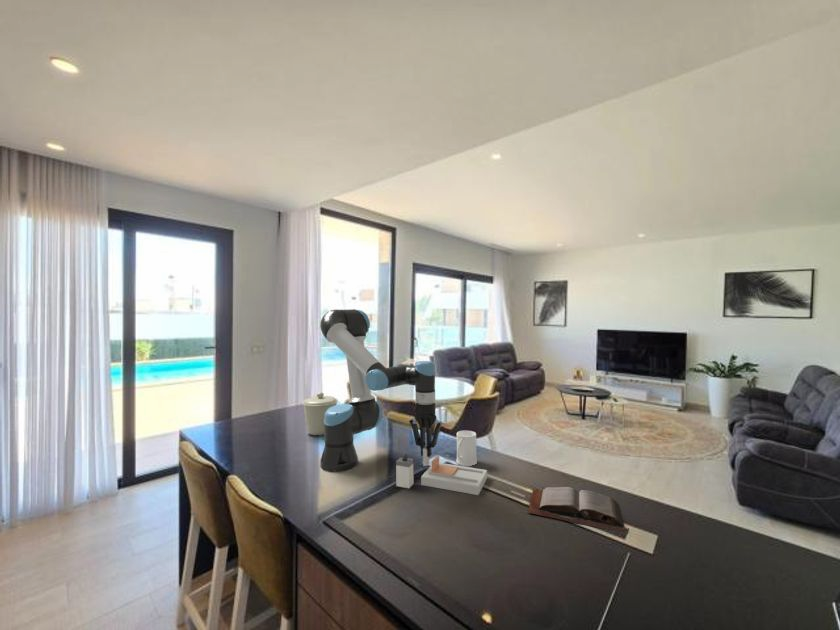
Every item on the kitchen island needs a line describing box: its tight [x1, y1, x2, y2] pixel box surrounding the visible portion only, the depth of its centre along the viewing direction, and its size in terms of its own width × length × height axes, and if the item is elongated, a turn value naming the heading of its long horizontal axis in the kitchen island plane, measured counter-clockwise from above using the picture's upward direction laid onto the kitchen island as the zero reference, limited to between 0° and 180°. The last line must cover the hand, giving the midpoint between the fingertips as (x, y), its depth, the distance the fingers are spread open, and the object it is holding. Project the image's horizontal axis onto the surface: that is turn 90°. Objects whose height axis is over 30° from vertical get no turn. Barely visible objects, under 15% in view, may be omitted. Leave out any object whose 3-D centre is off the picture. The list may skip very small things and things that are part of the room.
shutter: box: [431, 455, 457, 476], centre depth 137 cm, size 8×7×4 cm
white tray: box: [420, 462, 488, 496], centre depth 136 cm, size 21×14×4 cm, turn 68°
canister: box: [301, 391, 339, 436], centre depth 193 cm, size 18×18×21 cm
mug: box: [456, 430, 478, 467], centre depth 152 cm, size 12×8×12 cm
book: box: [527, 486, 630, 535], centre depth 117 cm, size 20×28×4 cm
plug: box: [395, 453, 414, 489], centre depth 133 cm, size 5×4×11 cm
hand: (426, 464), depth 140 cm, fingers closed
